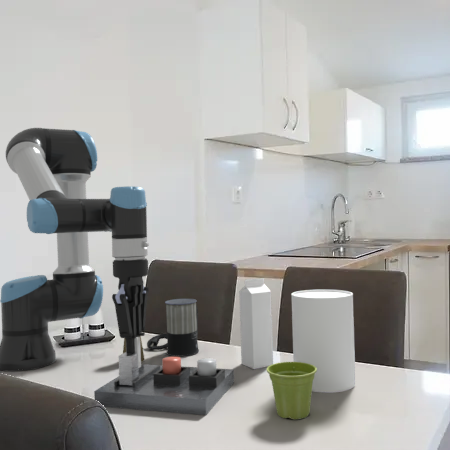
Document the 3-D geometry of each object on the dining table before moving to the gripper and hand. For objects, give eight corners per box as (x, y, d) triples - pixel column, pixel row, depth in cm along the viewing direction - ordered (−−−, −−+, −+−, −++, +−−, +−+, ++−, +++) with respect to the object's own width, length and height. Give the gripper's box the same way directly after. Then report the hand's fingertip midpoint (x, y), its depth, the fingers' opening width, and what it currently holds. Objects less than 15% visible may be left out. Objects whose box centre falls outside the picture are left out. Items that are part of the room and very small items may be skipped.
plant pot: (284, 427, 89) (282, 378, 89) (259, 410, 98) (258, 365, 98) (328, 418, 93) (326, 371, 93) (300, 402, 102) (299, 359, 102)
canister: (288, 389, 109) (285, 297, 109) (300, 371, 122) (298, 289, 122) (352, 394, 105) (349, 298, 105) (358, 375, 117) (355, 290, 117)
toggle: (119, 384, 106) (118, 355, 106) (126, 380, 109) (125, 352, 109) (132, 385, 105) (131, 356, 105) (138, 380, 108) (137, 352, 108)
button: (159, 375, 108) (159, 361, 108) (167, 369, 111) (166, 356, 111) (177, 376, 106) (176, 362, 106) (184, 370, 110) (183, 357, 110)
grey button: (194, 377, 105) (194, 363, 105) (201, 371, 109) (200, 357, 109) (213, 378, 104) (212, 363, 104) (218, 372, 108) (218, 358, 108)
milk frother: (197, 356, 139) (195, 302, 139) (140, 358, 140) (138, 304, 140) (201, 344, 153) (199, 295, 153) (149, 345, 154) (148, 297, 154)
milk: (273, 365, 128) (271, 279, 128) (253, 369, 125) (251, 280, 125) (260, 360, 133) (258, 276, 133) (240, 363, 130) (238, 278, 130)
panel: (94, 405, 103) (93, 381, 103) (138, 376, 122) (138, 355, 122) (206, 415, 96) (205, 388, 96) (234, 382, 115) (233, 360, 115)
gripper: (132, 260, 102) (136, 377, 102) (158, 255, 114) (162, 360, 114) (99, 260, 104) (102, 375, 104) (128, 256, 116) (131, 358, 116)
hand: (133, 367), depth 109 cm, fingers closed
